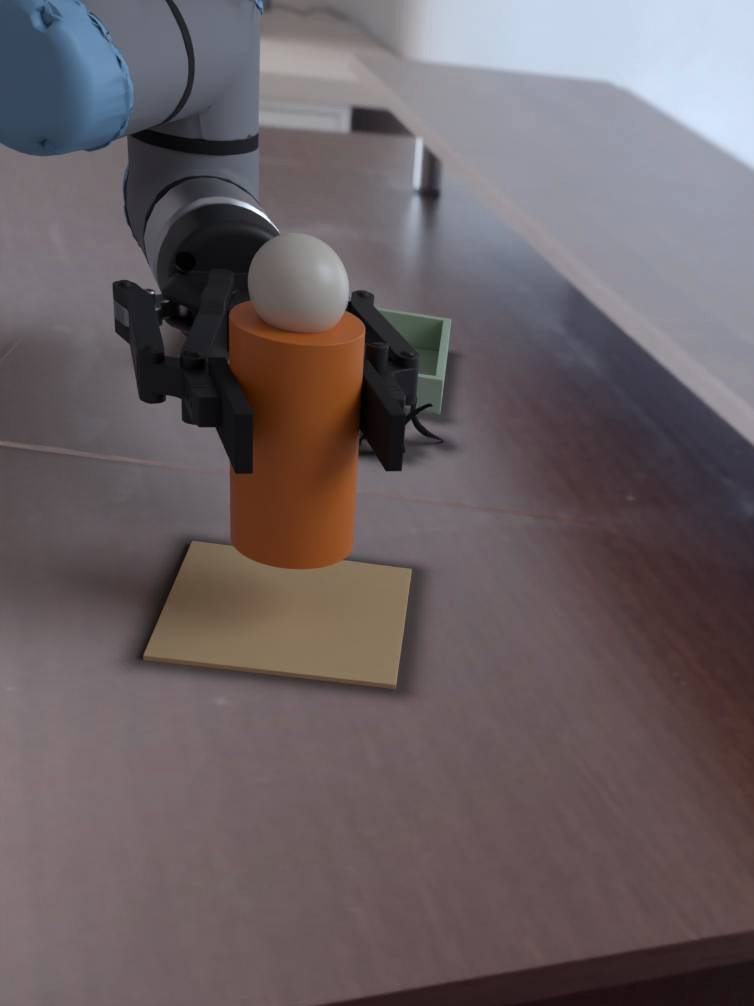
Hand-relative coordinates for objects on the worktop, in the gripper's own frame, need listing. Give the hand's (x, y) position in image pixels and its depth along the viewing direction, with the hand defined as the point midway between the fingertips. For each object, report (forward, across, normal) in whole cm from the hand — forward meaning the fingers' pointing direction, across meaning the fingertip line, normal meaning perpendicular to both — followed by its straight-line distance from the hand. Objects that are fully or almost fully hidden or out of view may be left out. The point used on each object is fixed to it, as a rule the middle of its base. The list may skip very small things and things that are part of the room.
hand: (321, 443), depth 58 cm
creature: (-26, -11, -12) cm, 30 cm away
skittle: (-5, 0, -7) cm, 9 cm away
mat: (-5, 0, -12) cm, 13 cm away
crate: (-39, -10, -12) cm, 42 cm away
